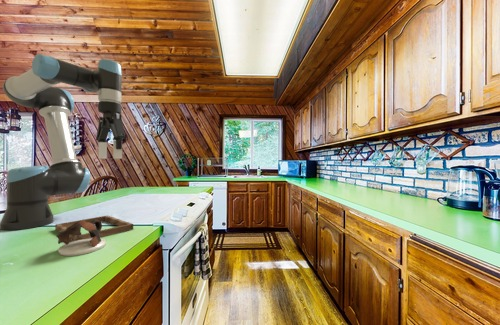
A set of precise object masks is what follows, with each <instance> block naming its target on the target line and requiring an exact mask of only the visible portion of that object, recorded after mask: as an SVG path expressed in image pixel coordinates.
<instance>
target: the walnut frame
mask: <svg viewBox="0 0 500 325" xmlns="http://www.w3.org/2000/svg"><path fill="white" fill-rule="evenodd" d="M83 219H84V220H85V221H86V222H91V221H92V220H99V221H100V222H101V221H103V222H106V221H107V223H109V222H110V223H109V224H112V223H113V225H115V227H109V228H104V229H101V231H100V232H99V236H100V238H102V237H108V236H111V235H117V234H120V233H125V232H129V231H133V230H134V223H132V222H129V221H125V220H122V219H119V218H116V217H113V216H109V215H101V216H95V217H91V218H86V219H85V218H83ZM80 220H81V219H80ZM80 220H75V221H73V220H72V221H68V222H62V223H58V224H57V223H56V224H55V227H54V228H55V231H57V232H58V233H60V232H62V231H63V232H64V231H66V229H67V228H68V227H70V226H71V225H73V224H75V223H76V222H78V221H80ZM101 223H102V222H101ZM69 238H70V239H71V241H72V242H73V241H78V240H82V239H90V238H93V237H91V236H90V233H89V232H87V233H83V234H82V233H81V235H78V236H76V235H69Z"/></svg>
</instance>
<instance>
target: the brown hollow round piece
mask: <svg viewBox="0 0 500 325" xmlns="http://www.w3.org/2000/svg"><path fill="white" fill-rule="evenodd" d="M84 219H85V218H83V219H80V221H78V220H77V221H78V222H76V223H75V224H73V225H71V226H70V227H68V228H67V229H66V231H64V232H63V231H62V232H58V234H57V235H56V237H57V238H58V240H57V243H58V244H59V245H60V244H62V243H63V244H64V245H65V244H66V245H68V244H69V243H70V242H72V240H71V239H70V238H69V235H76V236H78V235H82V232H81V231H82V230H81V229H84V230H85V231H88V233H90V236H91V237H93V238H92V239H91V240H90V243H91V244H92V246H93V247H94V246H96V245H97V244H98V243H99V242H101V239H102V238H101V237H100V236H99V232H100V231H101V230H102V228H103V225H102V223H103V222H100V221H99V220H92V221H91V222H86V221H85V220H84ZM100 238H101V239H100Z"/></svg>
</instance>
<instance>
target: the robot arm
mask: <svg viewBox="0 0 500 325" xmlns="http://www.w3.org/2000/svg"><path fill="white" fill-rule="evenodd" d="M122 76H123V73H122V66H121V64H120V63H118V62H117V61H115V60H111V59H106V58H103V59H100V60H98V64H97V69H94V70H92V69H89V68H86V67H83V66H79V65H77V64H73V63H70V62H67V61H64V60H61V59H59V58H55V57H53V56H50V55H49V56H48V55H45V54H40V53H38V54H36V55H34V58H33V59H32V62H31V68H30V69H29V70H27V71H25V72H23V73H22V74H20V75H14V76H10V77H8V78H7V79H6V80H4V82H3V85H2V90H3V93H4V95H5V96H6V97H7V98H8V99H9V100H11V101H12V102H13V103H16V104H17V105H19V106H22V107H25V108H31V109H37V111H38V114H39V115H40V116H41V117H42V118H44V121H45V128H46V133H47V138H48V142H49V148H50V155H51V159H52V163H51V164H50V165H49V166H48V165H33V166H23V167H15V168H11V169H10V170H8V171H7V175H6V181H5V183H6V208H5V211H4V213H3V216H2V218H1V220H0V230H3V231H16V230H18V231H19V230H26V229H27V230H28V229H32V228H33V229H34V228H37V227H42V226H46V225H49V224H52V223H53V222H55V221H54V219H55V218H54V217H55V216H54V214H53V212H52V210H51V208H50V205H49V197H54V196H61V195H62V196H63V195H75V194H79V193H83V192H85V191H86V190H87V189H88V188H89V185H90V182H91V171H90V170H89V168H87V167H83V164H82V162H81V161H80V160H78V159H77V155H76V149H75V146H74V142H73V135H72V131H71V127H70V121H69V118H68V117H69V116H70V115H71V114H72V112H73V111H74V109H75V100H74V97H73V95H72V94H71V93H70V91H69V90H67V89H63V88H60V87H55V86H56V85H57V84H58V85H59V84H60V83H63V84H65V85H70V86H73V87H77V88H81V89H82V90H84V91H85V92H87V93H96V94H97V96H98V99H97V100H98V103H97V112H99V113H100V114H102V115H103V116H99V117H98V118H99V119H98V126H97V132H96V137H95V141H97V142H98V144H97V146H98V155H97V156H98V159H105V160H106V159H107V158H108V153H107V152H108V151H107V150H108V149H107V148H108V140H107V139H108V135H109V133H110V131H111V133H112V135H113V138H112V141H113V144H112V146H113V148H112V150H113V151H112V152H113V153H112V154H113V156H112V159H117V160H121V159H123V141H124V139H126V133H125V128H124V124H123V119H122V118H123V117H122V105H121V104H122V95H123V94H122V80H123V79H122Z"/></svg>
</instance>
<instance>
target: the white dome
mask: <svg viewBox="0 0 500 325" xmlns="http://www.w3.org/2000/svg"><path fill="white" fill-rule="evenodd" d="M91 239H92V238H90V239H82V240H78V241H73V240H72V241H70V243H69V244H68V245H66V244H65V243H64V244H62V245H61V246H59V248H58V255H61V256H63V257H65V256H66V257H75V256H81V255H86V254H91V253H94V252H96V251H99V250H102V249H103V248H104V247H106V245H107V243H106V239H105V238H102V237H100V239H101V242H99V243H98V244H97V245H96V246H94V247H93V246H92V244H91V243H90V240H91Z"/></svg>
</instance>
